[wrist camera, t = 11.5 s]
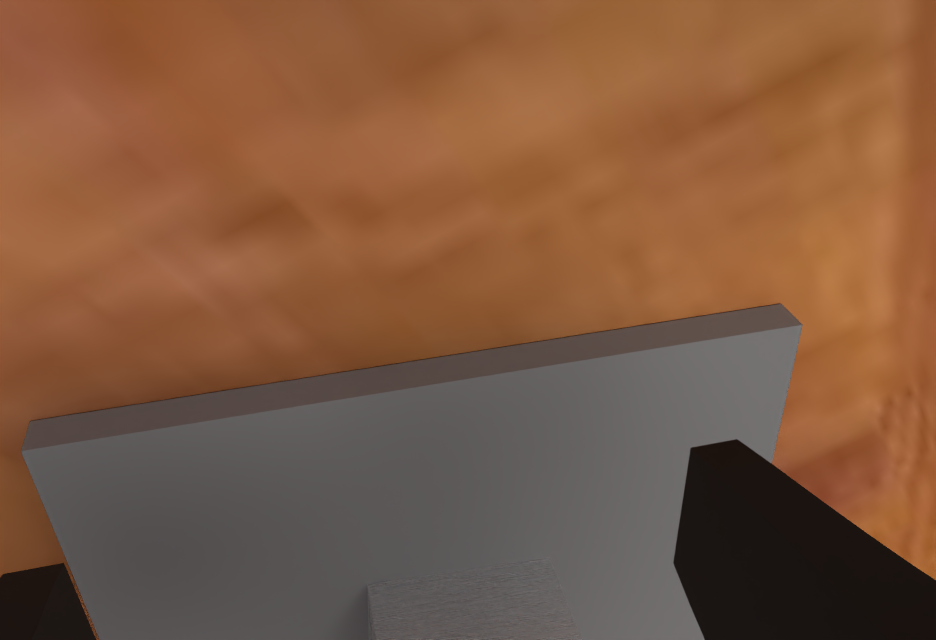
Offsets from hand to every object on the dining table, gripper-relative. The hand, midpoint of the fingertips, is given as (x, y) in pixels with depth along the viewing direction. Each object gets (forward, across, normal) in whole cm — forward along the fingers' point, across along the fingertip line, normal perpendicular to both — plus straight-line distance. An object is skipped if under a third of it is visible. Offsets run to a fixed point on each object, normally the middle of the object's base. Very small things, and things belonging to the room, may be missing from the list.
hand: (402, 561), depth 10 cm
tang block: (+9, -2, +13) cm, 16 cm away
